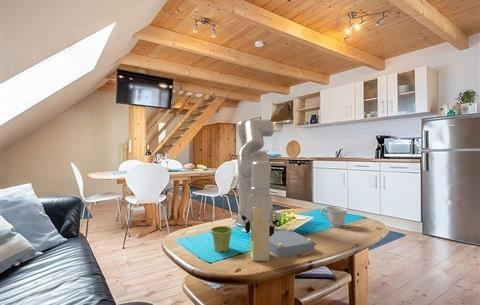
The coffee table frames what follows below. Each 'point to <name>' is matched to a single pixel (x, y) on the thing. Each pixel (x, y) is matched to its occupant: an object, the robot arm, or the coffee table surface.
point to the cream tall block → (259, 235)
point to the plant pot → (221, 237)
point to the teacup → (335, 215)
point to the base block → (289, 243)
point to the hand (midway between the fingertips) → (259, 233)
